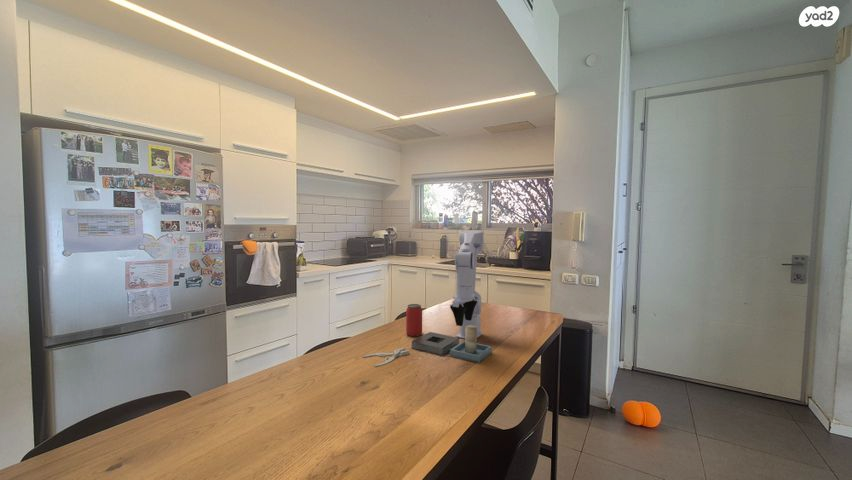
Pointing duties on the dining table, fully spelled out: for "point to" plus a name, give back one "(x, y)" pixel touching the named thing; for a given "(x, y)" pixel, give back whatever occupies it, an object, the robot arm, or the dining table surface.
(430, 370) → the dining table surface
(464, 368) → the dining table surface
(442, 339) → the hitch block
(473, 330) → the birch peg
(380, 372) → the dining table surface
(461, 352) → the slate tray
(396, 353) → the pliers
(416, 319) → the beer can
